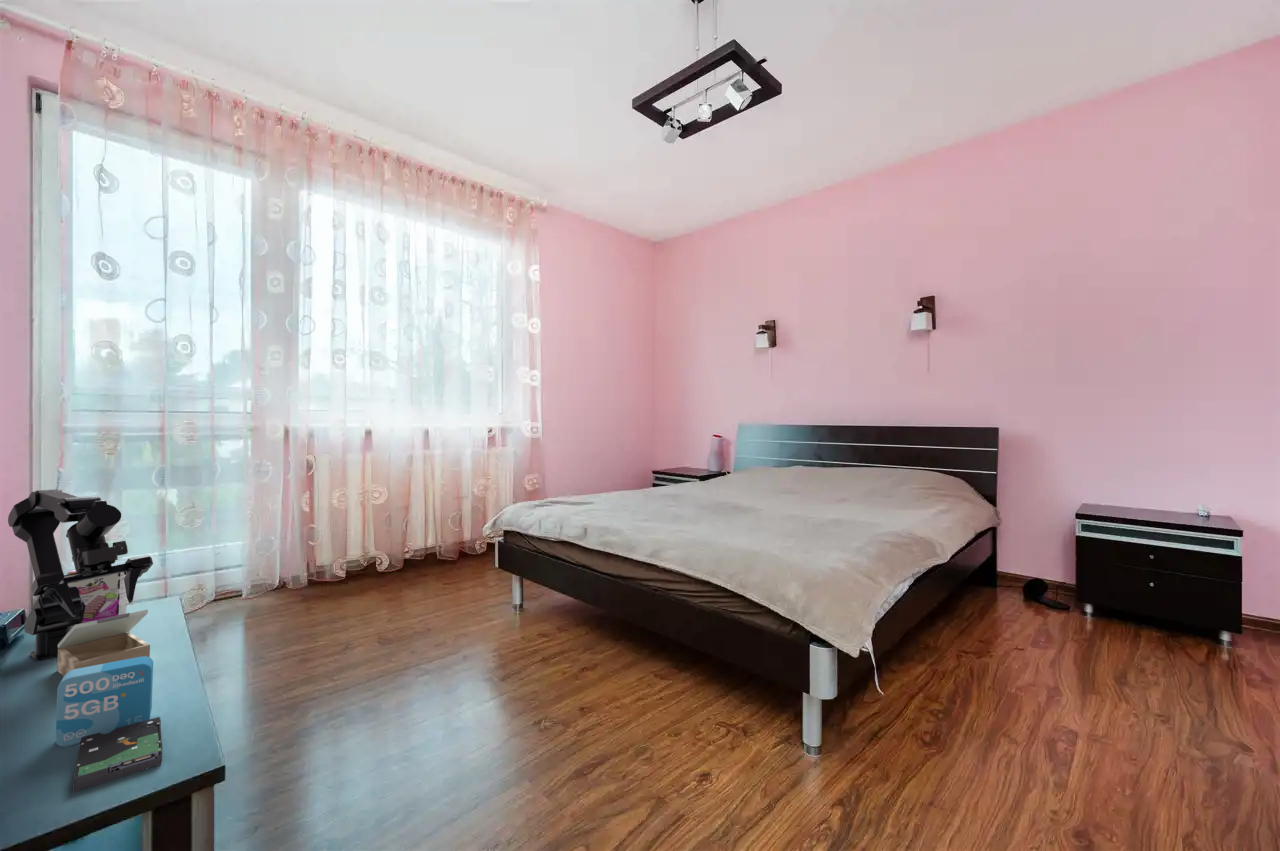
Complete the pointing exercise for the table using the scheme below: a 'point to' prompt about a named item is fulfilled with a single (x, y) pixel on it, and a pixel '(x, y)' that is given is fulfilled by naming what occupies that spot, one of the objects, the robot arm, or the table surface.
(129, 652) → the box
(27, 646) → the table surface
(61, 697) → the data package
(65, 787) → the table surface
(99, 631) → the lid
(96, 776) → the disk drive
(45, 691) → the table surface
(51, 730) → the table surface
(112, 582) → the candy bar box
